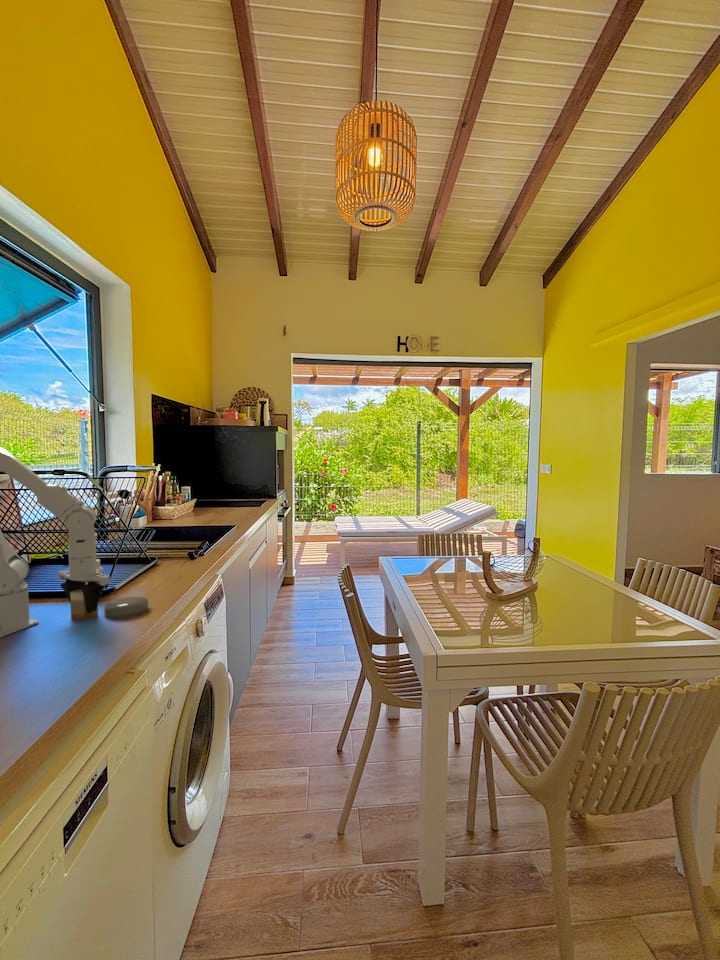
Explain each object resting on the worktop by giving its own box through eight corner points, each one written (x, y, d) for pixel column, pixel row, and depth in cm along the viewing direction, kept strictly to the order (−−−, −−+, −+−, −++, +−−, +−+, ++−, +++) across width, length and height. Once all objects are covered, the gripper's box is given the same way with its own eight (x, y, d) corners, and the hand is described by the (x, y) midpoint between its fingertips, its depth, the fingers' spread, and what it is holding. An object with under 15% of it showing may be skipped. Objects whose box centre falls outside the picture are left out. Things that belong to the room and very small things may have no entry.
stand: (126, 620, 109) (126, 612, 109) (94, 615, 112) (94, 607, 112) (156, 606, 118) (156, 599, 118) (126, 602, 121) (126, 594, 121)
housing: (83, 622, 108) (82, 593, 107) (71, 619, 109) (70, 591, 108) (98, 616, 111) (97, 588, 111) (85, 614, 113) (84, 586, 112)
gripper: (119, 554, 111) (121, 608, 112) (74, 549, 115) (76, 601, 116) (94, 562, 104) (96, 618, 105) (48, 556, 108) (50, 610, 109)
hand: (84, 610), depth 110 cm, fingers closed on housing, 4 cm apart
